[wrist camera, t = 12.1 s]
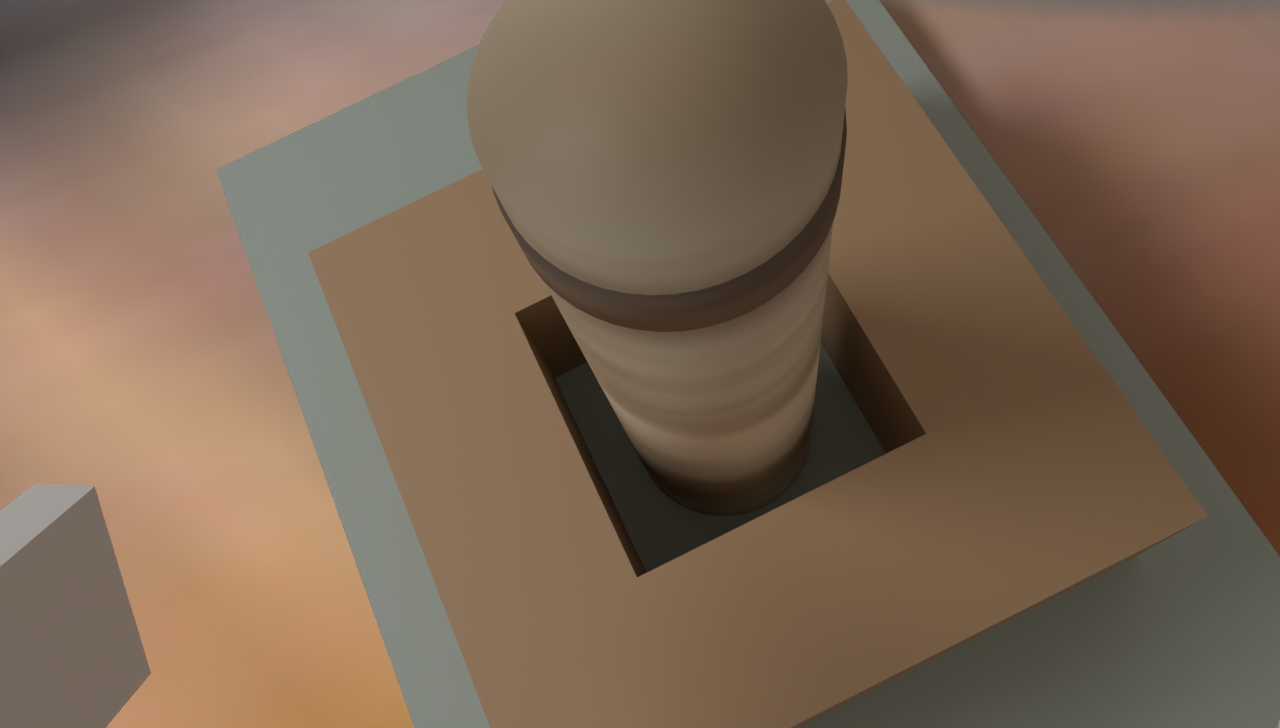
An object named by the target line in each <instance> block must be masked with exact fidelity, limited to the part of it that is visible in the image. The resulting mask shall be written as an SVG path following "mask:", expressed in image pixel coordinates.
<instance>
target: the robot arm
mask: <svg viewBox="0 0 1280 728" xmlns="http://www.w3.org/2000/svg"><path fill="white" fill-rule="evenodd" d="M150 674H151V672H150V668H149V665H148V662H147V659H146V655H145V652H144V649H143V645H142V642H141V639H140V635H139V632H138V629H137V625H136V622H135V619H134V616H133V612H132V609H131V606H130V602H129V599H128V596H127V592H126V589H125V586H124V582H123V579H122V576H121V572H120V569H119V566H118V563H117V559H116V556H115V553H114V549H113V546H112V543H111V539H110V536H109V533H108V529H107V526H106V523H105V520H104V516H103V513H102V510H101V506H100V503H99V500H98V496H97V493H96V490H95V487H94V486H73V485H53V484H34V485H33V486H31V487H30V488H29V489H27V490H26V491H25V492H24V493H22V494H21V495H20V496H19V497H17V498H16V499H15V500H13V501H12V502H11V503H10V504H8V505H7V506H6V507H4V508H3V509H2V510H1V511H0V728H106V727H107V725H108V724H109V723H110V722H111V721H112V719H113V718H114V717H115V716H116V715H117V713H118V712H119V711H120V710H121V708H122V707H123V706H124V705H125V704H126V702H127V701H128V700H129V699H130V698H131V696H132V695H133V694H134V693H135V692H136V690H137V689H138V688H139V687H140V686H141V684H142V683H143V682H144V681H145V680H146V678H147V677H148V676H149V675H150ZM1277 728H1280V720H1279V724H1278V727H1277Z"/></svg>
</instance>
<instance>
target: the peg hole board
mask: <svg viewBox="0 0 1280 728" xmlns="http://www.w3.org/2000/svg"><path fill="white" fill-rule="evenodd" d="M825 2H826V4H827V5H828V7H829V9H830V11H831V12H832V14H833V16H834V18H835V20H836V23H837V26H838V28H839V31H840V33H841V36H842V40H843V44H844V49H845V53H846V58H847V75H848V84H847V94H846V104H845V110H846V124H847V137H846V148H845V158H844V167H843V176H842V184H841V193H840V199H839V203H838V207H837V211H836V215H835V218H834V221H833V229H832V238H831V248H830V257H829V267H828V276H827V286H826V296H825V305H824V315H823V324H822V334H821V343H820V353H819V363H818V372H817V382H816V391H815V401H814V410H813V420H812V429H811V439H810V447H809V451H808V455H807V458H806V460H805V463H804V466H803V468H802V469H801V471H800V473H799V475H798V477H797V478H796V479H795V481H794V482H793V483H792V485H791V486H790V487H789V488H788V489H787V490H786V491H785V492H784V493H783V494H782V495H780V496H779V497H778V498H777V499H775V500H774V501H772V502H771V503H769V504H767V505H766V506H764V507H762V508H759V509H757V510H755V511H752V512H748V513H745V514H740V515H733V516H714V515H706V514H702V513H699V512H695V511H693V510H690V509H688V508H685V507H683V506H682V505H680V504H678V503H676V502H675V501H673V500H672V499H671V498H669V497H668V496H667V495H665V494H664V493H663V492H662V491H661V490H660V489H659V488H658V486H657V485H656V484H655V483H654V481H653V480H652V479H651V477H650V475H649V474H648V472H647V470H646V468H645V467H644V465H643V463H642V461H641V459H640V457H639V456H638V454H637V452H636V450H635V448H634V446H633V445H632V443H631V441H630V439H629V437H628V435H627V433H626V432H625V430H624V428H623V426H622V424H621V422H620V421H619V419H618V417H617V415H616V413H615V411H614V410H613V408H612V406H611V404H610V402H609V400H608V399H607V397H606V395H605V393H604V391H603V389H602V388H601V386H600V384H599V382H598V380H597V378H596V376H595V375H594V373H593V371H592V369H591V367H590V365H589V364H588V362H587V360H586V358H585V356H584V354H583V353H582V351H581V349H580V347H579V345H578V343H577V342H576V340H575V338H574V336H573V334H572V332H571V330H570V329H569V327H568V325H567V323H566V321H565V319H564V318H563V316H562V314H561V312H560V310H559V308H558V307H557V305H556V303H555V301H554V299H553V297H552V296H551V294H550V292H549V290H548V288H547V286H546V284H545V283H544V281H543V280H542V279H541V277H540V276H539V275H538V274H537V272H536V271H535V270H534V269H533V267H532V266H531V264H530V263H529V261H528V259H527V258H526V256H525V254H524V252H523V251H522V249H521V247H520V245H519V243H518V242H517V240H516V238H515V236H514V234H513V233H512V231H511V229H510V227H509V225H508V224H507V222H506V220H505V218H504V216H503V215H502V213H501V211H500V208H499V206H498V203H497V201H496V198H495V196H494V193H493V189H492V185H491V183H490V181H489V180H488V178H487V176H486V174H485V172H484V170H483V169H482V167H481V165H480V162H479V160H478V157H477V155H476V152H475V150H474V147H473V144H472V139H471V135H470V131H469V126H468V115H467V93H468V82H469V77H470V73H471V68H472V64H473V60H474V57H475V55H476V52H477V49H478V47H479V45H478V46H476V47H474V48H471V49H469V50H467V51H465V52H463V53H461V54H459V55H457V56H455V57H453V58H450V59H448V60H446V61H444V62H442V63H440V64H438V65H436V66H434V67H431V68H429V69H427V70H425V71H423V72H421V73H419V74H417V75H415V76H413V77H410V78H408V79H406V80H404V81H402V82H400V83H398V84H396V85H394V86H391V87H389V88H387V89H385V90H383V91H381V92H379V93H377V94H375V95H373V96H370V97H368V98H366V99H364V100H362V101H360V102H358V103H356V104H354V105H351V106H349V107H347V108H345V109H343V110H341V111H339V112H337V113H335V114H333V115H330V116H328V117H326V118H324V119H322V120H320V121H318V122H316V123H314V124H311V125H309V126H307V127H305V128H303V129H301V130H299V131H297V132H295V133H293V134H290V135H288V136H286V137H284V138H282V139H280V140H278V141H276V142H274V143H271V144H269V145H267V146H265V147H263V148H261V149H259V150H257V151H255V152H253V153H250V154H248V155H246V156H244V157H242V158H240V159H238V160H236V161H234V162H231V163H229V164H227V165H225V166H223V167H221V168H219V169H217V170H216V171H217V173H218V176H219V179H220V182H221V185H222V188H223V190H224V193H225V196H226V199H227V202H228V204H229V207H230V210H231V213H232V216H233V219H234V221H235V224H236V227H237V230H238V233H239V235H240V238H241V241H242V244H243V247H244V249H245V252H246V255H247V258H248V261H249V264H250V266H251V269H252V272H253V275H254V278H255V280H256V283H257V286H258V289H259V292H260V294H261V297H262V300H263V303H264V306H265V309H266V311H267V314H268V317H269V320H270V323H271V325H272V328H273V331H274V334H275V337H276V339H277V342H278V345H279V348H280V351H281V354H282V356H283V359H284V362H285V365H286V368H287V370H288V373H289V376H290V379H291V382H292V384H293V387H294V390H295V393H296V396H297V399H298V401H299V404H300V407H301V410H302V413H303V415H304V418H305V421H306V424H307V427H308V429H309V432H310V435H311V438H312V441H313V444H314V446H315V449H316V452H317V455H318V458H319V460H320V463H321V466H322V469H323V472H324V475H325V477H326V480H327V483H328V486H329V489H330V491H331V494H332V497H333V500H334V503H335V505H336V508H337V511H338V514H339V517H340V520H341V522H342V525H343V528H344V531H345V534H346V536H347V539H348V542H349V545H350V548H351V550H352V553H353V556H354V559H355V562H356V565H357V567H358V570H359V573H360V576H361V579H362V581H363V584H364V587H365V590H366V593H367V595H368V598H369V601H370V604H371V607H372V610H373V612H374V615H375V618H376V621H377V624H378V626H379V629H380V632H381V635H382V638H383V640H384V643H385V646H386V649H387V652H388V655H389V657H390V660H391V663H392V666H393V669H394V671H395V674H396V677H397V680H398V683H399V686H400V688H401V691H402V694H403V697H404V700H405V702H406V705H407V708H408V711H409V714H410V716H411V719H412V722H413V725H414V728H1277V727H1278V724H1279V720H1280V556H1279V555H1278V553H1277V552H1276V551H1275V549H1274V548H1273V546H1272V545H1271V544H1270V542H1269V541H1268V539H1267V538H1266V537H1265V535H1264V534H1263V532H1262V531H1261V530H1260V528H1259V527H1258V526H1257V524H1256V523H1255V521H1254V520H1253V519H1252V517H1251V516H1250V514H1249V513H1248V512H1247V510H1246V509H1245V507H1244V506H1243V505H1242V503H1241V502H1240V501H1239V499H1238V498H1237V496H1236V495H1235V494H1234V492H1233V491H1232V489H1231V488H1230V487H1229V485H1228V484H1227V482H1226V481H1225V480H1224V478H1223V477H1222V476H1221V474H1220V473H1219V471H1218V470H1217V469H1216V467H1215V466H1214V464H1213V463H1212V462H1211V460H1210V459H1209V457H1208V456H1207V455H1206V453H1205V452H1204V451H1203V449H1202V448H1201V446H1200V445H1199V444H1198V442H1197V441H1196V439H1195V438H1194V437H1193V435H1192V434H1191V432H1190V431H1189V430H1188V428H1187V427H1186V426H1185V424H1184V423H1183V421H1182V420H1181V419H1180V417H1179V416H1178V414H1177V413H1176V412H1175V410H1174V409H1173V407H1172V406H1171V405H1170V403H1169V402H1168V400H1167V399H1166V398H1165V396H1164V395H1163V394H1162V392H1161V391H1160V389H1159V388H1158V387H1157V385H1156V384H1155V382H1154V381H1153V380H1152V378H1151V377H1150V375H1149V374H1148V373H1147V371H1146V370H1145V369H1144V367H1143V366H1142V364H1141V363H1140V362H1139V360H1138V359H1137V357H1136V356H1135V355H1134V353H1133V352H1132V350H1131V349H1130V348H1129V346H1128V345H1127V344H1126V342H1125V341H1124V339H1123V338H1122V337H1121V335H1120V334H1119V332H1118V331H1117V330H1116V328H1115V327H1114V325H1113V324H1112V323H1111V321H1110V320H1109V319H1108V317H1107V316H1106V314H1105V313H1104V312H1103V310H1102V309H1101V307H1100V306H1099V305H1098V303H1097V302H1096V300H1095V299H1094V298H1093V296H1092V295H1091V294H1090V292H1089V291H1088V289H1087V288H1086V287H1085V285H1084V284H1083V282H1082V281H1081V280H1080V278H1079V277H1078V275H1077V274H1076V273H1075V271H1074V270H1073V269H1072V267H1071V266H1070V264H1069V263H1068V262H1067V260H1066V259H1065V257H1064V256H1063V255H1062V253H1061V252H1060V250H1059V249H1058V248H1057V246H1056V245H1055V244H1054V242H1053V241H1052V239H1051V238H1050V237H1049V235H1048V234H1047V232H1046V231H1045V230H1044V228H1043V227H1042V225H1041V224H1040V223H1039V221H1038V220H1037V218H1036V217H1035V216H1034V214H1033V213H1032V212H1031V210H1030V209H1029V207H1028V206H1027V205H1026V203H1025V202H1024V200H1023V199H1022V198H1021V196H1020V195H1019V193H1018V192H1017V191H1016V189H1015V188H1014V187H1013V185H1012V184H1011V182H1010V181H1009V180H1008V178H1007V177H1006V175H1005V174H1004V173H1003V171H1002V170H1001V168H1000V167H999V166H998V164H997V163H996V162H995V160H994V159H993V157H992V156H991V155H990V153H989V152H988V150H987V149H986V148H985V146H984V145H983V143H982V142H981V141H980V139H979V138H978V137H977V135H976V134H975V132H974V131H973V130H972V128H971V127H970V125H969V124H968V123H967V121H966V120H965V118H964V117H963V116H962V114H961V113H960V112H959V110H958V109H957V107H956V106H955V105H954V103H953V102H952V100H951V99H950V98H949V96H948V95H947V93H946V92H945V91H944V89H943V88H942V87H941V85H940V84H939V82H938V81H937V80H936V78H935V77H934V75H933V74H932V73H931V71H930V70H929V68H928V67H927V66H926V64H925V63H924V61H923V60H922V59H921V57H920V56H919V55H918V53H917V52H916V50H915V49H914V48H913V46H912V45H911V43H910V42H909V41H908V39H907V38H906V36H905V35H904V34H903V32H902V31H901V30H900V28H899V27H898V25H897V24H896V23H895V21H894V20H893V18H892V17H891V16H890V14H889V13H888V11H887V10H886V9H885V7H884V6H883V5H882V3H881V2H880V0H825Z"/></svg>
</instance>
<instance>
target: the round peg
mask: <svg viewBox="0 0 1280 728" xmlns="http://www.w3.org/2000/svg"><path fill="white" fill-rule="evenodd" d="M847 84H848V75H847V58H846V53H845V49H844V44H843V40H842V36H841V33H840V31H839V28H838V26H837V23H836V20H835V18H834V16H833V14H832V12H831V11H830V9H829V7H828V5H827V4H826V2H825V0H507V1H506V2H505V3H504V4H503V5H502V7H501V8H500V10H499V11H498V13H497V14H496V15H495V17H494V18H493V20H492V21H491V23H490V24H489V26H488V28H487V30H486V32H485V34H484V36H483V38H482V39H481V41H480V44H479V47H478V49H477V52H476V55H475V57H474V60H473V64H472V68H471V73H470V77H469V82H468V93H467V115H468V126H469V131H470V135H471V139H472V144H473V147H474V150H475V152H476V155H477V157H478V160H479V162H480V165H481V167H482V169H483V170H484V172H485V174H486V176H487V178H488V180H489V181H490V183H491V185H492V189H493V193H494V196H495V198H496V201H497V203H498V206H499V208H500V211H501V213H502V215H503V216H504V218H505V220H506V222H507V224H508V225H509V227H510V229H511V231H512V233H513V234H514V236H515V238H516V240H517V242H518V243H519V245H520V247H521V249H522V251H523V252H524V254H525V256H526V258H527V259H528V261H529V263H530V264H531V266H532V267H533V269H534V270H535V271H536V272H537V274H538V275H539V276H540V277H541V279H542V280H543V281H544V283H545V284H546V286H547V288H548V290H549V292H550V294H551V296H552V297H553V299H554V301H555V303H556V305H557V307H558V308H559V310H560V312H561V314H562V316H563V318H564V319H565V321H566V323H567V325H568V327H569V329H570V330H571V332H572V334H573V336H574V338H575V340H576V342H577V343H578V345H579V347H580V349H581V351H582V353H583V354H584V356H585V358H586V360H587V362H588V364H589V365H590V367H591V369H592V371H593V373H594V375H595V376H596V378H597V380H598V382H599V384H600V386H601V388H602V389H603V391H604V393H605V395H606V397H607V399H608V400H609V402H610V404H611V406H612V408H613V410H614V411H615V413H616V415H617V417H618V419H619V421H620V422H621V424H622V426H623V428H624V430H625V432H626V433H627V435H628V437H629V439H630V441H631V443H632V445H633V446H634V448H635V450H636V452H637V454H638V456H639V457H640V459H641V461H642V463H643V465H644V467H645V468H646V470H647V472H648V474H649V475H650V477H651V479H652V480H653V481H654V483H655V484H656V485H657V486H658V488H659V489H660V490H661V491H662V492H663V493H664V494H665V495H667V496H668V497H669V498H671V499H672V500H673V501H675V502H676V503H678V504H680V505H682V506H683V507H685V508H688V509H690V510H693V511H695V512H699V513H702V514H706V515H714V516H733V515H740V514H745V513H748V512H752V511H755V510H757V509H759V508H762V507H764V506H766V505H767V504H769V503H771V502H772V501H774V500H775V499H777V498H778V497H779V496H780V495H782V494H783V493H784V492H785V491H786V490H787V489H788V488H789V487H790V486H791V485H792V483H793V482H794V481H795V479H796V478H797V477H798V475H799V473H800V471H801V469H802V468H803V466H804V463H805V460H806V458H807V455H808V451H809V447H810V439H811V429H812V420H813V410H814V401H815V391H816V382H817V372H818V363H819V353H820V343H821V334H822V324H823V315H824V305H825V296H826V286H827V276H828V267H829V257H830V248H831V238H832V229H833V221H834V218H835V215H836V211H837V207H838V203H839V199H840V193H841V184H842V176H843V167H844V158H845V148H846V137H847V124H846V110H845V104H846V94H847Z"/></svg>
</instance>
